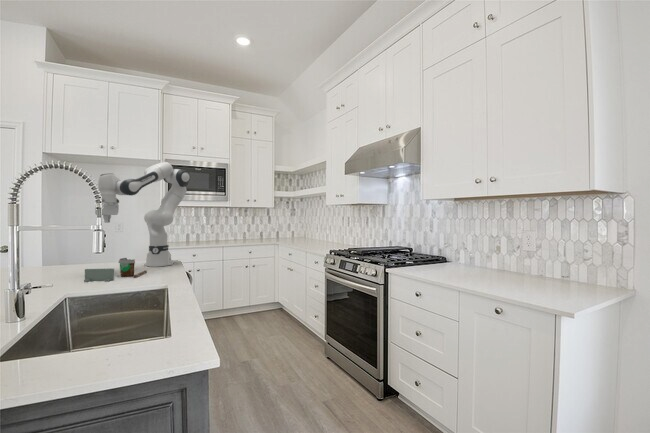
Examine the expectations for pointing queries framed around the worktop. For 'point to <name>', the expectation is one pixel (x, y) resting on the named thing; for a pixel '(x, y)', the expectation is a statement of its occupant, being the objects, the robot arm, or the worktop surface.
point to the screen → (99, 275)
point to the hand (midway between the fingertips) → (107, 222)
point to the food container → (127, 267)
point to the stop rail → (140, 273)
